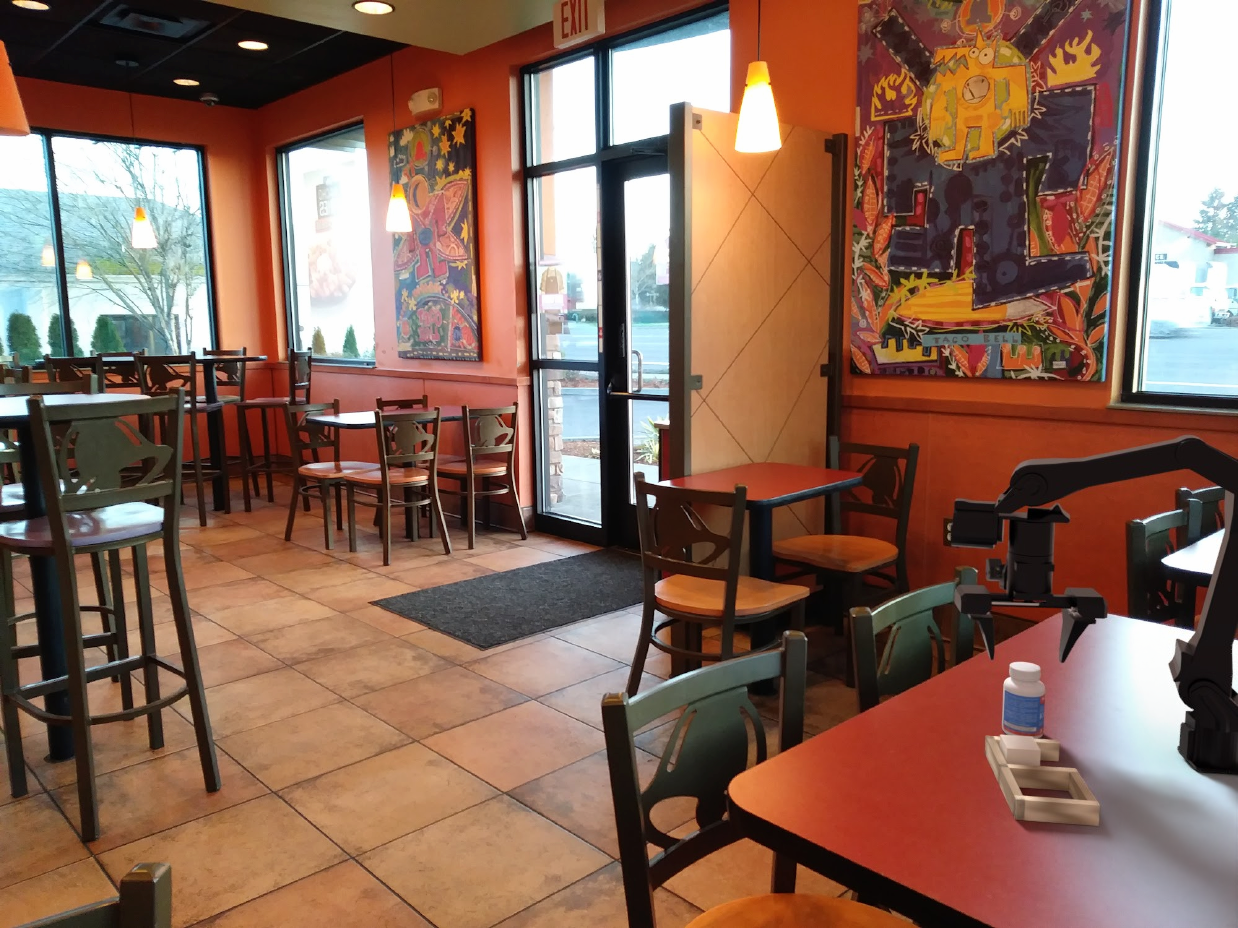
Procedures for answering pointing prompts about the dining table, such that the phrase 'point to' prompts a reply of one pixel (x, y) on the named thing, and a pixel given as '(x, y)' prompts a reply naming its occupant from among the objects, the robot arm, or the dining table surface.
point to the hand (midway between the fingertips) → (1026, 660)
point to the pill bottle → (1023, 701)
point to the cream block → (1020, 750)
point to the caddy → (1043, 787)
